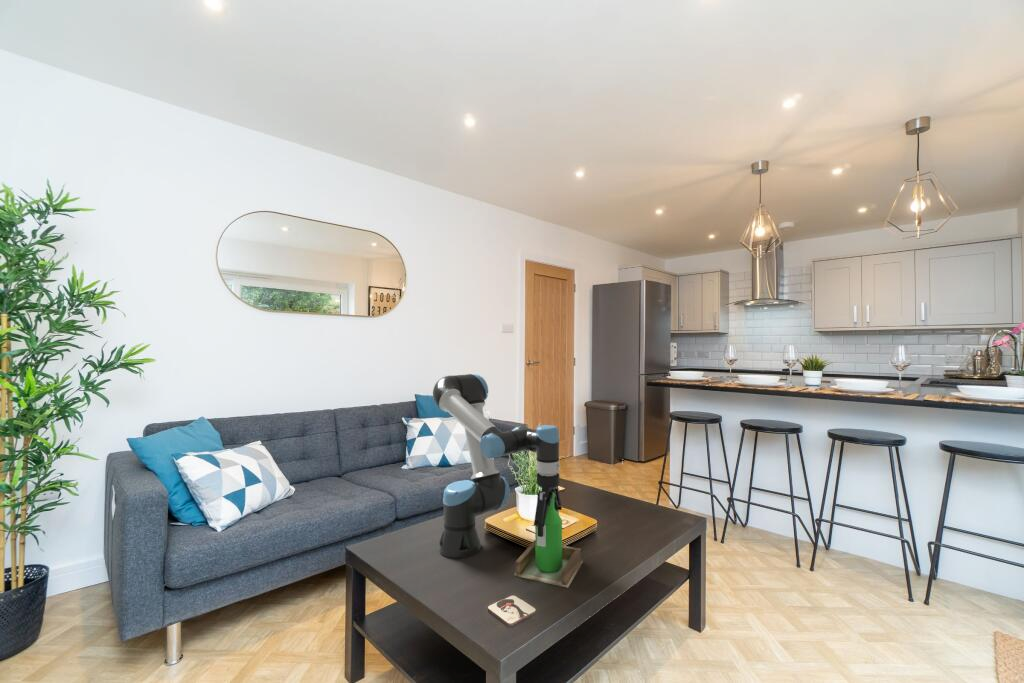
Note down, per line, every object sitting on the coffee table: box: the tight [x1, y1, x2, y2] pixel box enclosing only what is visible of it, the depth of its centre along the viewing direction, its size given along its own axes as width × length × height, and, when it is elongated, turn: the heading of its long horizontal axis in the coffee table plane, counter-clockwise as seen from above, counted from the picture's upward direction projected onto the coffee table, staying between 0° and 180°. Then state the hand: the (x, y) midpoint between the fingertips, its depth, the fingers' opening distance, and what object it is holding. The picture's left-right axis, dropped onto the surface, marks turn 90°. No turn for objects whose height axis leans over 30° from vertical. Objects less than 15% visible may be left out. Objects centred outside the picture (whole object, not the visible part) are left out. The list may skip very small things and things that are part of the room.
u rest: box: [513, 539, 584, 589], centre depth 147 cm, size 18×17×5 cm
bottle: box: [534, 491, 563, 572], centre depth 146 cm, size 9×9×25 cm
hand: (548, 537), depth 146 cm, fingers open, 13 cm apart
